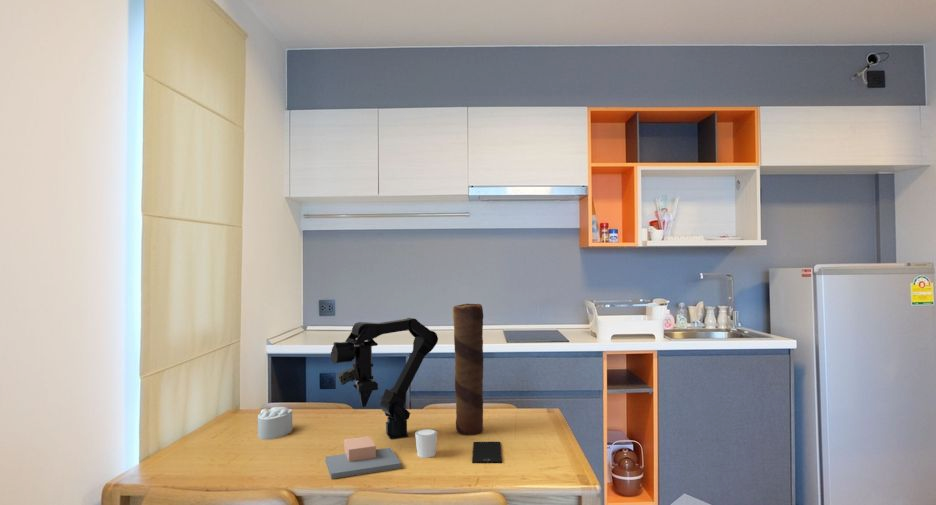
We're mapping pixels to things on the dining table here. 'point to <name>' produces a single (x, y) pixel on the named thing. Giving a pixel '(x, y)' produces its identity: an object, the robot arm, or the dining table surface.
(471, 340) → the wafer roll
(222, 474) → the dining table surface
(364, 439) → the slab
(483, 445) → the cell phone
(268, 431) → the lumpy-topped squat cylinder
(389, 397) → the robot arm
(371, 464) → the mat
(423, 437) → the shot glass
